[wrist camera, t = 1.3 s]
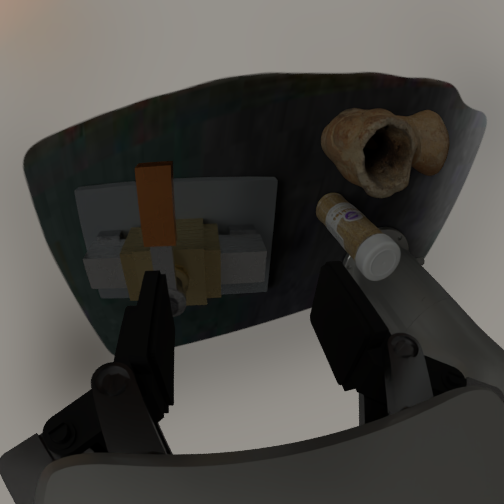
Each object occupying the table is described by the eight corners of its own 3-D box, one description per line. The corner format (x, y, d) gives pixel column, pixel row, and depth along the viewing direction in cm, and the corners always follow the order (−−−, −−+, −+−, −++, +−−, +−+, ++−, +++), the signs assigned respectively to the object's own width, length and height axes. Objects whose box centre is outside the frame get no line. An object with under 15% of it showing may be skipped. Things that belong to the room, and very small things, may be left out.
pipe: (413, 164, 35) (460, 189, 26) (314, 176, 34) (351, 207, 25) (413, 104, 30) (466, 117, 21) (307, 105, 29) (348, 111, 20)
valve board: (274, 176, 33) (277, 180, 31) (264, 285, 41) (267, 291, 40) (79, 186, 29) (74, 191, 27) (103, 291, 37) (101, 298, 36)
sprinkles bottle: (338, 185, 35) (398, 234, 23) (349, 212, 37) (405, 266, 26) (309, 203, 35) (358, 259, 24) (322, 229, 38) (369, 290, 26)
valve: (258, 216, 33) (277, 259, 26) (254, 265, 37) (270, 315, 29) (94, 224, 30) (66, 267, 22) (105, 272, 34) (86, 321, 26)
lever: (187, 307, 27) (187, 320, 25) (156, 308, 26) (154, 321, 25) (176, 160, 20) (174, 166, 18) (135, 163, 19) (129, 170, 17)
